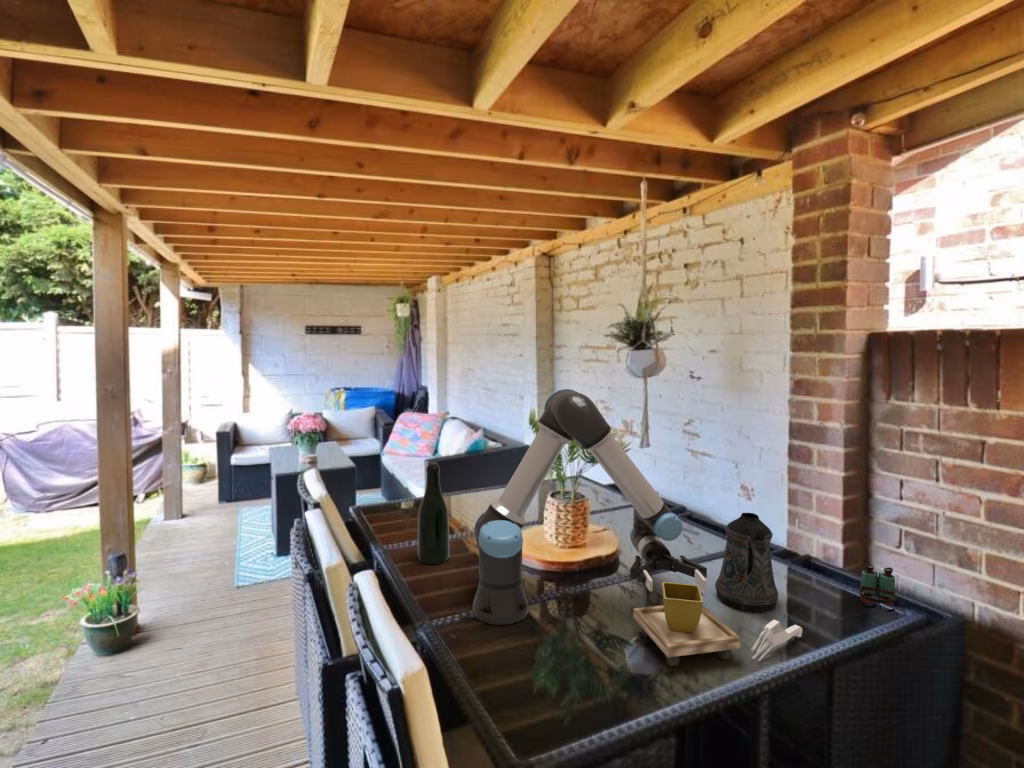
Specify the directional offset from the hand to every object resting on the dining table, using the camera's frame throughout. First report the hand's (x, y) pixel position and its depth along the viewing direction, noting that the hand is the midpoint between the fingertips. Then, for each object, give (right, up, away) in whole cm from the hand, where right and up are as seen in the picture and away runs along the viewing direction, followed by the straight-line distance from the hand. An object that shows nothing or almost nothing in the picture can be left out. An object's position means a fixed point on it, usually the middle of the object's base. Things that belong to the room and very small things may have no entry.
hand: (678, 585), depth 140 cm
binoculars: (+61, -12, +17) cm, 64 cm away
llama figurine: (+22, -14, -6) cm, 26 cm away
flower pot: (-1, -8, -5) cm, 10 cm away
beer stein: (+26, -11, +18) cm, 34 cm away
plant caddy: (0, -13, -4) cm, 14 cm away
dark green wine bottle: (-68, -9, +48) cm, 84 cm away
